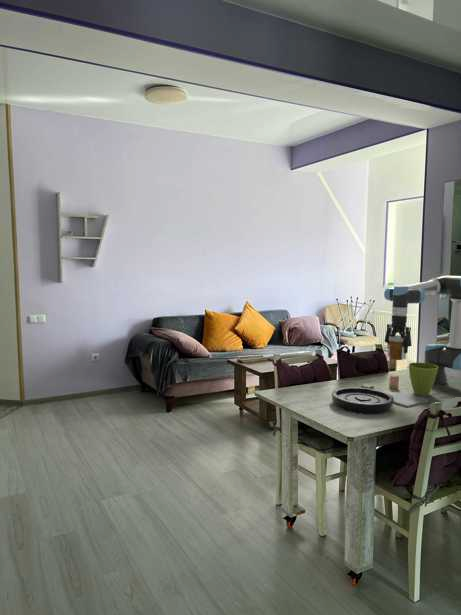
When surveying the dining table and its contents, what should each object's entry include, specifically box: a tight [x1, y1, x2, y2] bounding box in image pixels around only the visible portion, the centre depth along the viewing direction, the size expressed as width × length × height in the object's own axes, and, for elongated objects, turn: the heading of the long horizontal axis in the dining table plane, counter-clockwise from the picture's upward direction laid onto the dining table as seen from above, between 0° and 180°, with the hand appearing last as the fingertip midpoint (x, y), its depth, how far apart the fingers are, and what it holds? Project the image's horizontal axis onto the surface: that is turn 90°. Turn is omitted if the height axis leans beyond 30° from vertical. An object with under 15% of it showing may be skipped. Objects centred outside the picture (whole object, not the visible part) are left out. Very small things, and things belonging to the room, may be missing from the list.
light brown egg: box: [388, 374, 400, 390], centre depth 273 cm, size 5×5×7 cm
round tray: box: [331, 386, 394, 415], centre depth 239 cm, size 30×6×30 cm
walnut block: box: [360, 383, 375, 389], centre depth 259 cm, size 5×5×5 cm
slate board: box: [391, 392, 430, 408], centre depth 249 cm, size 18×16×1 cm
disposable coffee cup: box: [388, 334, 404, 361], centre depth 253 cm, size 10×10×12 cm
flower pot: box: [408, 362, 438, 397], centre depth 261 cm, size 15×15×16 cm
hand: (396, 357), depth 253 cm, fingers closed on disposable coffee cup, 8 cm apart
